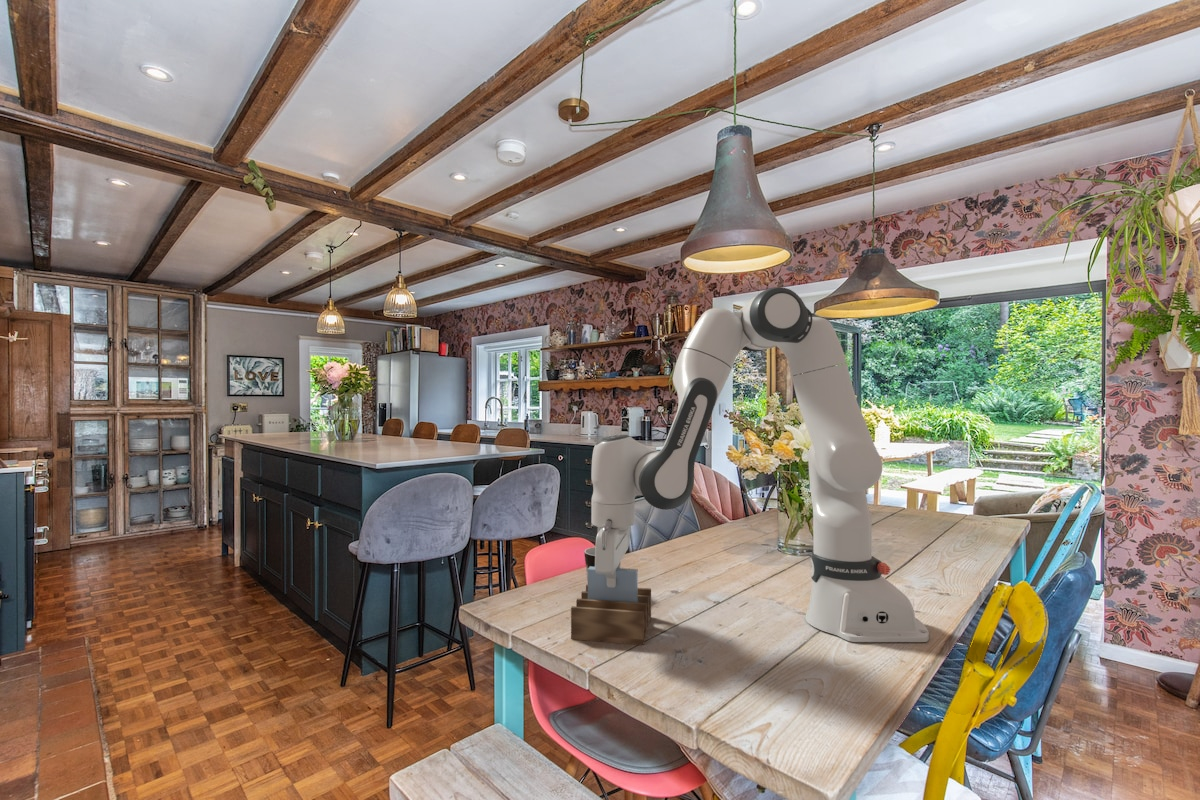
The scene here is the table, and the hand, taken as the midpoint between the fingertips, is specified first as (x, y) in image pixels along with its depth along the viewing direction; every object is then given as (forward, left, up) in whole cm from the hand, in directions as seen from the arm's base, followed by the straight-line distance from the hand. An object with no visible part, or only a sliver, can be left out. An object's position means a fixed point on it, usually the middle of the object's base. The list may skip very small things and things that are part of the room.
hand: (613, 583), depth 112 cm
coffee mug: (+6, -21, -9) cm, 24 cm away
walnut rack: (0, 0, -9) cm, 9 cm away
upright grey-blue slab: (0, 0, -6) cm, 6 cm away
